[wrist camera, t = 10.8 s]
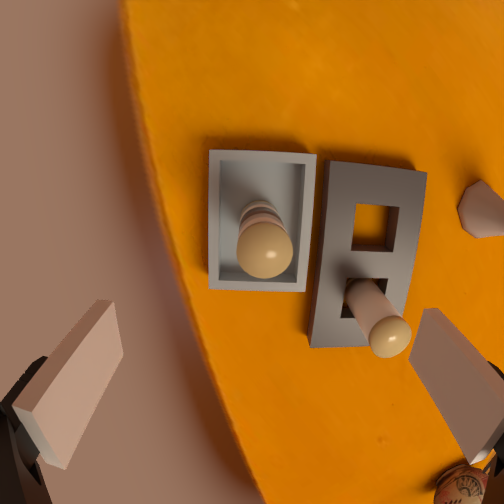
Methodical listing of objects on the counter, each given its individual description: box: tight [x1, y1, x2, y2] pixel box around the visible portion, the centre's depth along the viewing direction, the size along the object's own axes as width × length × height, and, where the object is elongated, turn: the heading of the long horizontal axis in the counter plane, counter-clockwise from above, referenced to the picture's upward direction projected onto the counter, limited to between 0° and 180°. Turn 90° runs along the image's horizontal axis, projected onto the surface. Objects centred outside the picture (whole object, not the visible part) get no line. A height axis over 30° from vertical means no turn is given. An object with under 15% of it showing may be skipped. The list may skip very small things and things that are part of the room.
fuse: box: [344, 278, 411, 358], centre depth 31 cm, size 4×4×11 cm
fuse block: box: [307, 160, 427, 348], centre depth 34 cm, size 21×11×2 cm, turn 178°
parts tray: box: [208, 150, 317, 292], centre depth 32 cm, size 14×10×3 cm
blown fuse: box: [236, 200, 293, 279], centre depth 28 cm, size 4×4×11 cm
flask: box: [458, 180, 504, 238], centre depth 29 cm, size 7×7×10 cm
